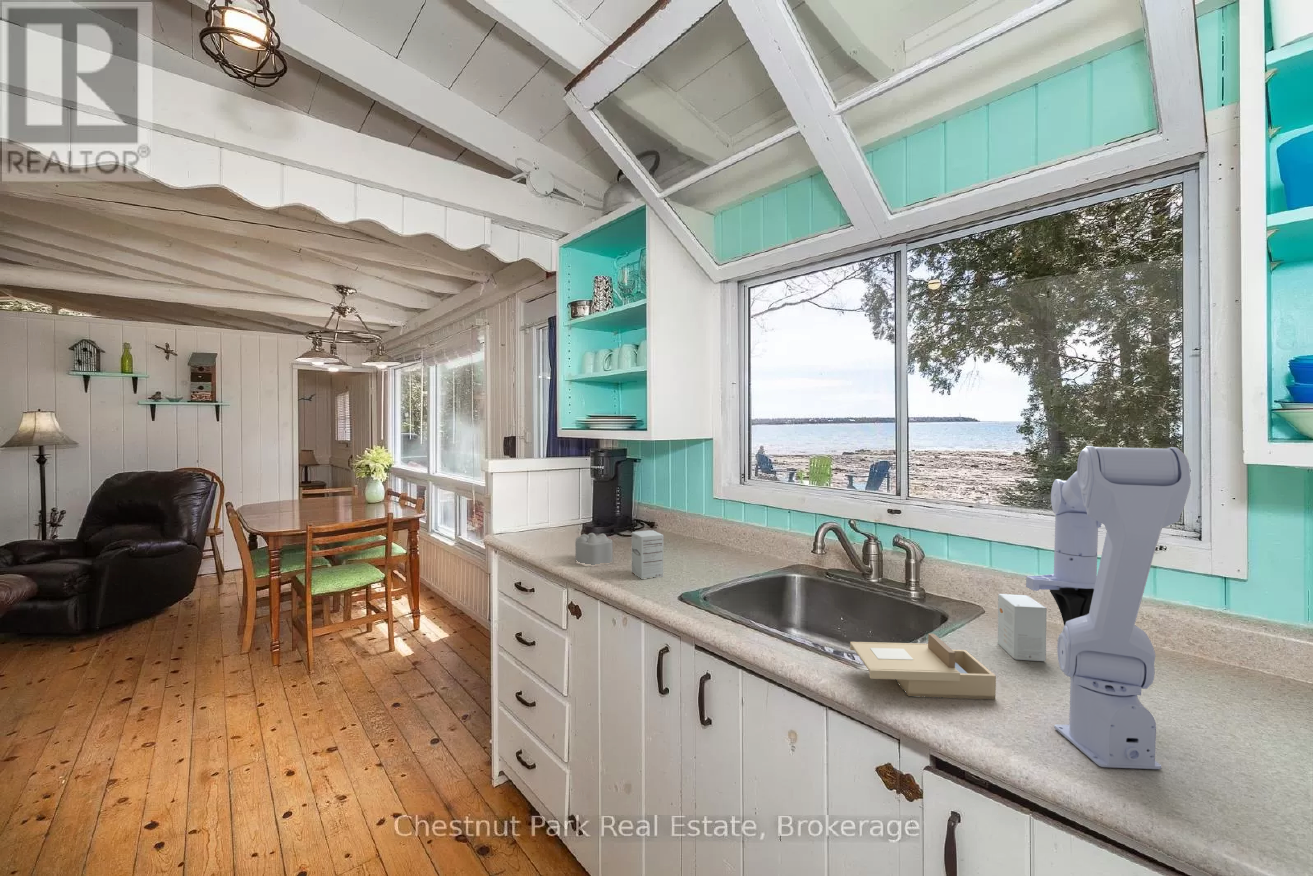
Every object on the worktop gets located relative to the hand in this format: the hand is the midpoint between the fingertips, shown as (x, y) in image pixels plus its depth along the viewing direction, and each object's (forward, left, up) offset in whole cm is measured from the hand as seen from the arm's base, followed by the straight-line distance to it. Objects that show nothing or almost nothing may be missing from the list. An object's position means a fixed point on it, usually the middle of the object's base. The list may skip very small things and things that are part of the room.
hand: (1073, 632), depth 92 cm
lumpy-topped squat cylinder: (+79, +96, -11) cm, 125 cm away
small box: (+16, -1, -11) cm, 19 cm away
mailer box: (+2, +21, -10) cm, 24 cm away
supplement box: (+64, +77, -11) cm, 101 cm away
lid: (+2, +27, -7) cm, 28 cm away
